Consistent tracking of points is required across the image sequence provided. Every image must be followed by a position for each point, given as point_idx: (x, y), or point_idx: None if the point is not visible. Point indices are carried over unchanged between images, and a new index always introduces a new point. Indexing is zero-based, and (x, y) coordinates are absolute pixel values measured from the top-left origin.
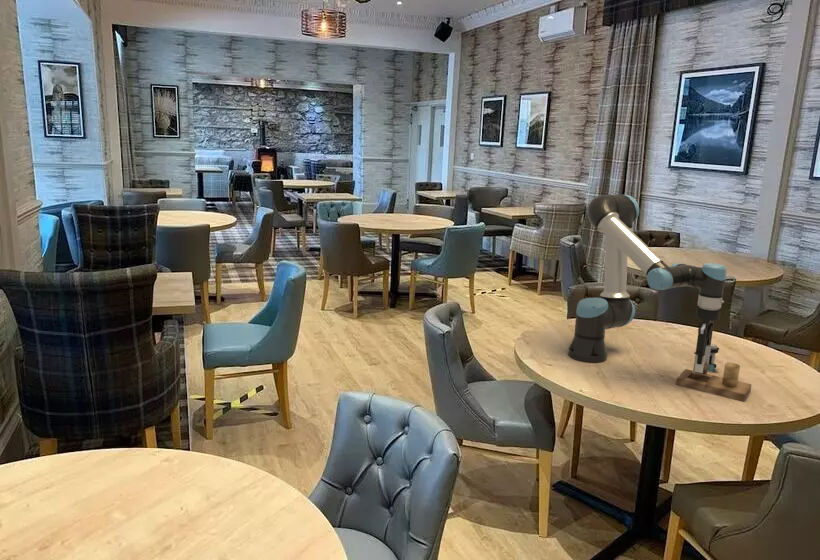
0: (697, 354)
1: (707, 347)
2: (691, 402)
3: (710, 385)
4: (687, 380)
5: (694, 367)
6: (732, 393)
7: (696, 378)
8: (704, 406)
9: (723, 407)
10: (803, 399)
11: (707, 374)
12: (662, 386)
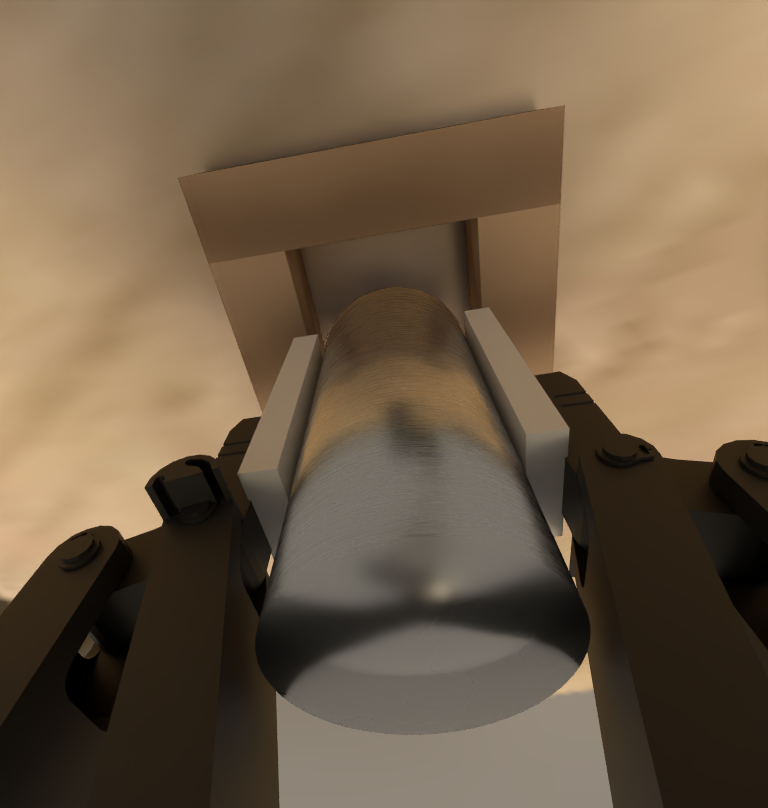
0: (127, 540)
1: (328, 718)
2: (9, 411)
3: None
4: (218, 288)
5: (336, 331)
6: None
7: (471, 264)
8: (47, 477)
9: None
10: (586, 671)
11: (540, 345)
12: (24, 91)
